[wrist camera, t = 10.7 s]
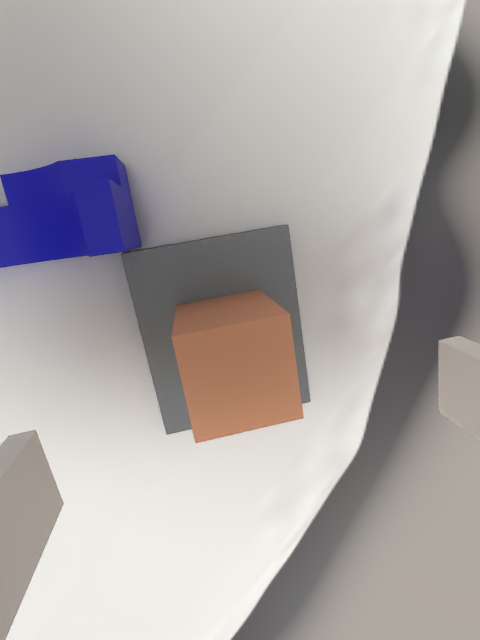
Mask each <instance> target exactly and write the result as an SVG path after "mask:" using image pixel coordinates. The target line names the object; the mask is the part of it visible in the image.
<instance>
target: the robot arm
mask: <svg viewBox="0 0 480 640" xmlns="http://www.w3.org/2000/svg"><path fill="white" fill-rule="evenodd" d="M439 412H440V413H441V414H443V415H444V416H445V417H447V418H448V419H449V420H451V421H452V422H454V423H455V424H456V425H458V426H459V427H461V428H462V429H463V430H465V431H466V432H467V433H469V434H470V435H471V436H473V437H474V438H475V439H477V440H478V441H480V344H478V343H476V342H473V341H471V340H468V339H466V338H463V337H460V336H457V337H452V338H447V339H443V340H439ZM63 504H64V503H63V501H62V498H61V496H60V493H59V490H58V488H57V485H56V482H55V480H54V477H53V474H52V472H51V469H50V467H49V464H48V461H47V459H46V456H45V453H44V451H43V448H42V445H41V443H40V440H39V438H38V435H37V432H36V430H33V431H28V432H24V433H19V434H15V435H10V436H8V437H7V439H6V440H5V441H4V442H3V443H2V445H1V446H0V640H5V639H6V637H7V635H8V632H9V630H10V628H11V625H12V623H13V621H14V618H15V616H16V614H17V611H18V609H19V607H20V604H21V602H22V600H23V597H24V595H25V593H26V590H27V588H28V586H29V583H30V581H31V579H32V576H33V574H34V572H35V569H36V567H37V565H38V562H39V560H40V558H41V555H42V553H43V551H44V548H45V546H46V544H47V541H48V539H49V537H50V534H51V532H52V530H53V527H54V525H55V523H56V520H57V518H58V515H59V513H60V511H61V508H62V506H63Z"/></svg>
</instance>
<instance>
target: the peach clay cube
mask: <svg viewBox="0 0 480 640" xmlns="http://www.w3.org/2000/svg"><path fill="white" fill-rule="evenodd" d="M172 342H173V346H174V350H175V355H176V359H177V364H178V368H179V372H180V377H181V381H182V386H183V390H184V394H185V399H186V403H187V408H188V412H189V416H190V421H191V425H192V429H193V434H194V438H195V443H199V442H203V441H207V440H211V439H216V438H220V437H224V436H229V435H233V434H237V433H242V432H246V431H250V430H254V429H259V428H263V427H267V426H272V425H276V424H280V423H285V422H289V421H293V420H297V419H302V418H303V410H302V402H301V395H300V387H299V380H298V372H297V364H296V357H295V349H294V342H293V334H292V326H291V319H290V313H288V312H287V311H286V310H285V309H283V308H282V307H281V306H279V305H278V304H277V303H276V302H274V301H273V300H272V299H270V298H269V297H268V296H267V295H265V294H264V293H263V292H261V291H260V290H254V291H249V292H244V293H238V294H233V295H228V296H223V297H217V298H212V299H207V300H202V301H197V302H191V303H186V304H181V305H176V309H175V316H174V323H173V330H172Z"/></svg>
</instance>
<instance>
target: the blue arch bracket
mask: <svg viewBox="0 0 480 640" xmlns="http://www.w3.org/2000/svg"><path fill="white" fill-rule="evenodd" d="M0 177H1V181H2V184H3V187H4V191H5V194H6V197H7V201H8V204H9V206H4V207H0V268H1V267H7V266H14V265H21V264H28V263H35V262H42V261H49V260H56V259H63V258H71V257H79V256H89V257H90V256H97V255H104V254H111V253H118V252H125V251H128V250H131V249H135V248H138V247H141V242H140V237H139V232H138V227H137V223H136V218H135V213H134V208H133V203H132V198H131V194H130V189H129V184H128V179H127V174H126V170H125V165H124V164H123V163H122V162H121V161H120V160H119V159H118V158H117V157H116V156H115V155H107V156H99V157H90V158H81V159H73V160H64V161H58V162H55V163H53V164H51V165H48V166H45V167H41V168H37V169H33V170H29V171H24V172H18V173H11V174H4V175H0Z"/></svg>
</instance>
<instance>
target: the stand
mask: <svg viewBox="0 0 480 640" xmlns="http://www.w3.org/2000/svg"><path fill="white" fill-rule="evenodd" d="M121 256H122V260H123V264H124V268H125V272H126V276H127V280H128V284H129V288H130V292H131V295H132V299H133V303H134V307H135V311H136V315H137V319H138V323H139V327H140V331H141V335H142V339H143V343H144V347H145V351H146V355H147V359H148V363H149V367H150V371H151V375H152V379H153V383H154V387H155V390H156V394H157V398H158V402H159V406H160V410H161V414H162V418H163V422H164V426H165V430H166V434H172V433H176V432H181V431H185V430H189V429H192V425H191V421H190V416H189V412H188V408H187V403H186V399H185V394H184V390H183V386H182V381H181V377H180V372H179V368H178V364H177V359H176V355H175V350H174V346H173V342H172V330H173V323H174V316H175V309H176V305H181V304H186V303H191V302H197V301H202V300H207V299H212V298H217V297H223V296H228V295H233V294H238V293H244V292H249V291H254V290H260V291H261V292H263V293H264V294H265V295H267V296H268V297H269V298H270V299H272V300H273V301H274V302H276V303H277V304H278V305H279V306H281V307H282V308H283V309H285V310H286V311H287V312H288V313H290V319H291V326H292V334H293V342H294V349H295V357H296V364H297V372H298V380H299V387H300V395H301V402H302V404H303V403H307V402H310V394H309V386H308V378H307V370H306V362H305V354H304V346H303V338H302V330H301V322H300V314H299V306H298V298H297V290H296V282H295V274H294V267H293V259H292V251H291V243H290V235H289V227H288V225H282V226H276V227H271V228H265V229H259V230H254V231H248V232H242V233H236V234H231V235H225V236H219V237H214V238H208V239H202V240H196V241H191V242H185V243H179V244H174V245H168V246H162V247H157V248H151V249H145V250H139V251H134V252H128V253H123V254H121Z"/></svg>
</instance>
